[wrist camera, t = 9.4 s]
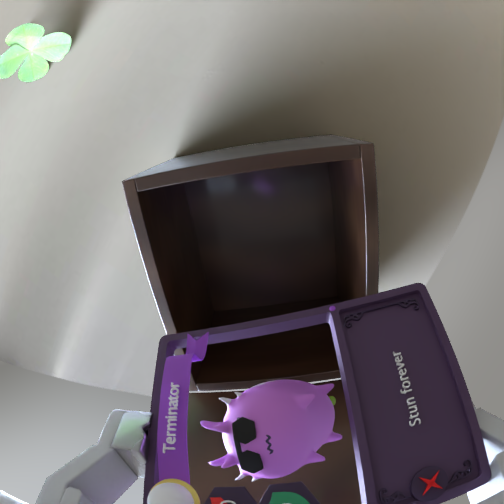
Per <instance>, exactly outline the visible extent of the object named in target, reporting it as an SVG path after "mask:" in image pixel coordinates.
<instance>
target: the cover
mask: <svg viewBox="0 0 504 504" xmlns="http://www.w3.org/2000/svg"><path fill="white" fill-rule="evenodd" d="M330 383H332V384H334V387H333V389H332V390H331V391H329V392H328V393H327V395H328V397H329V396H333V397H335V399H336V403H335V405H334V411H335V420H334V425H333V429H332V431H333V432H334V433H338V434H341V435H342V439H340V440H337V441H333V442H328V443H325V444H323V445H322V446H321V447H320V448H319V449H318V450H317V451H316V453H318V454H320V455H322V456H324V457H325V461H321V462H314V463H309V464H305V465H303V466H302V467H300V468H299V469H298V470H296V471H295V472H293V473H291V474H289V475H286V476H283V477H280V478H273V479H270V478H260V479H257V480H256V481H253V482H252V479H253V477H252V476H251V475H247V476H245V477H244V478H242V479H240V480H235V479H236V478H237V477H238V476H239V475H240V474H241V472H240V469H239V466H238V465H237V464H236V465H233V466H231V467H228V468H221V466H212V465H210V464H209V462H211V461H214V460H216V459H219V458H221V457H223V456H225V455H227V453H228V452H227V450H226V448H225V445H224V442H223V436H222V432H218V431H214V430H210V429H207V428H204V427H203V426H202V425H201V424H200V422H201V421H211V422H223V421H224V417H225V415H226V412H227V410H228V409H227V404H226V403H225V402H224V401H222V400H220V399H219V398H221V397H224V398H229V399H236V398H237V395H236V394H235V393H234V392H239V393H243V392H244V391H232V392H211V393H189V397H188V415H187V449H188V463H189V474H190V485H191V486H192V487H193V488H194V490H195V491H196V492H197V494H198V496H199V499H200V504H204V503H205V501H206V500H207V498H208V497H209V495H210V493H211V492H212V490H213V489H214V487H240V486H245V487H246V489H247V490H248V492H249V493H250V494H251V496H252V497H253V499H254V500H255V501H256V503H257V504H259V502H260V501H261V499H262V497H263V495H264V494H265V492H266V490H267V488H268V487H269V485H272V484H282V483H292V482H300V481H302V482H303V483H304V485H305V486H306V487H307V488H308V489H309V491H310V492H311V493H312V494H313V495H314V497H315V498H316V499H317V500H318V501H319V502H320V504H362V502H361V494H360V487H359V480H358V473H357V466H356V460H355V453H354V447H353V441H352V435H351V429H350V423H349V418H348V412H347V406H346V401H345V396H344V391H343V385H342V380H335V381H329V382H322V383H315V384H313V385H316V386H318V385H324V384H330Z"/></svg>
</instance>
